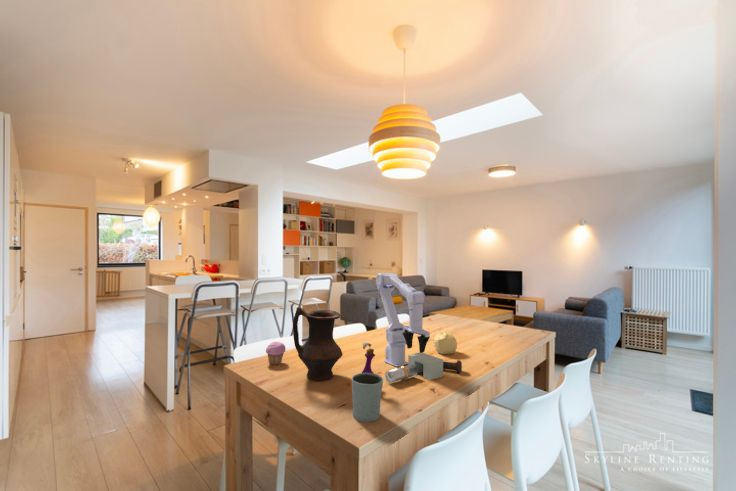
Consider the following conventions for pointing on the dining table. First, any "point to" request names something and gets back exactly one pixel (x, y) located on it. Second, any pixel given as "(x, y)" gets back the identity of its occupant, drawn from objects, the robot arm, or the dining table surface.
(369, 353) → the perfume bottle
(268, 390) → the dining table surface
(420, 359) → the block
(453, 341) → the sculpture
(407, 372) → the silver copper cylinder
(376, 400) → the grey-green cup
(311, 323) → the jug
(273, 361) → the cupcake
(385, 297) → the robot arm
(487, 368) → the dining table surface
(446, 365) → the bolt
